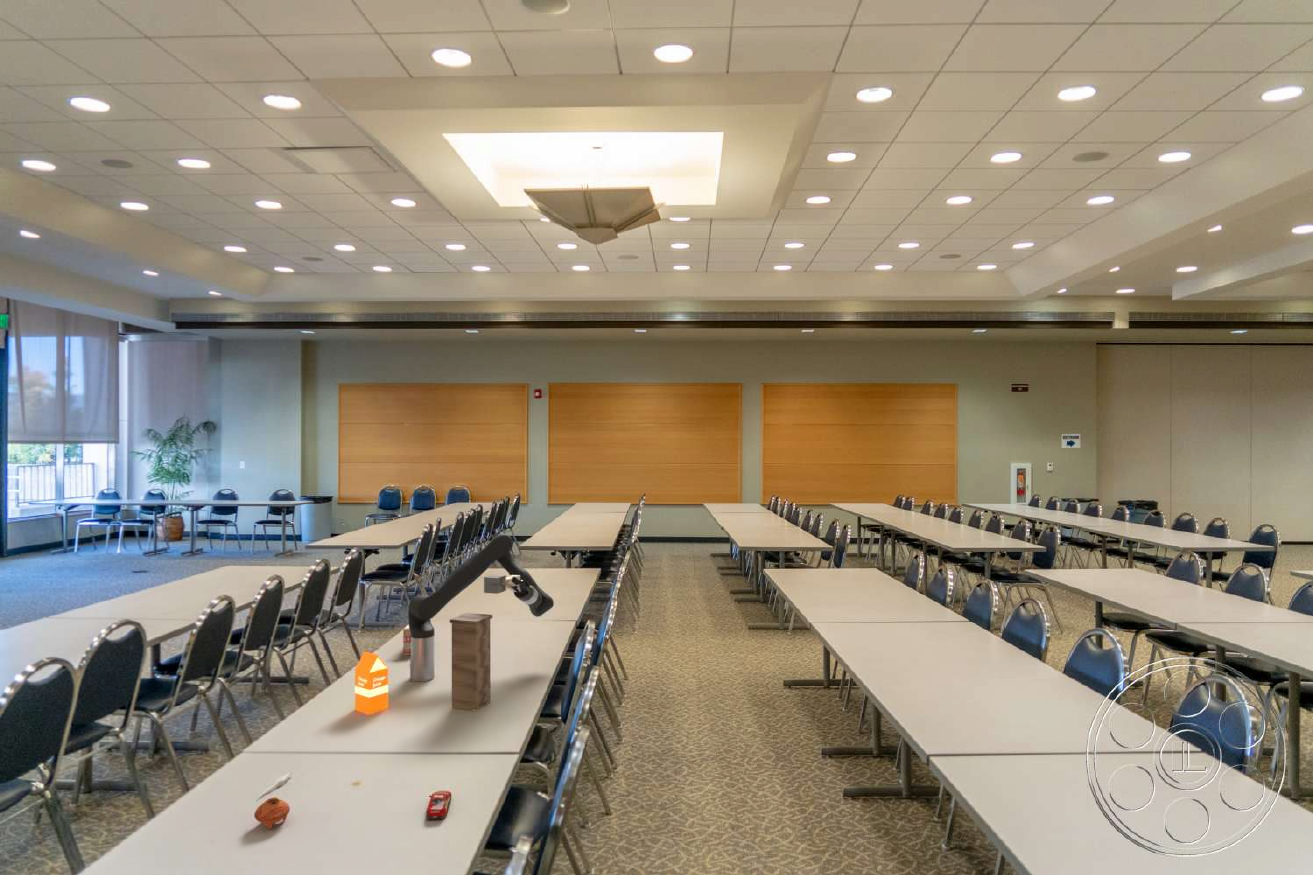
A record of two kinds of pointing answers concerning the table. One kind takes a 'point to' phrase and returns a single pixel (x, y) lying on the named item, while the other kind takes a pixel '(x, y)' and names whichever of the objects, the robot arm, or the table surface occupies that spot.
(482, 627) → the pedestal
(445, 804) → the race car
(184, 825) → the table surface
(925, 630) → the table surface
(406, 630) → the red printed box
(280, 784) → the white tapered stick
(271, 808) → the pot
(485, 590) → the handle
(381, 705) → the orange juice
